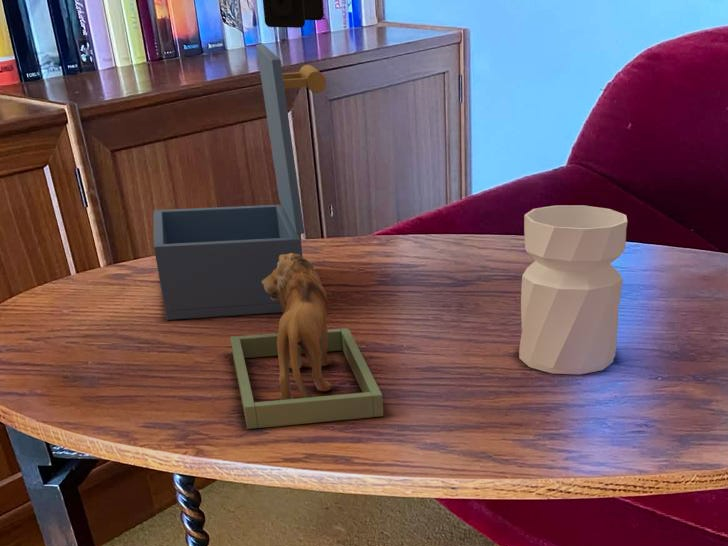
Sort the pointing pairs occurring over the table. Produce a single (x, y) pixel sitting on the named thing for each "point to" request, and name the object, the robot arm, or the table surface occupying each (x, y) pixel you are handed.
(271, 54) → the lid
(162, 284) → the chest
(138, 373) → the table surface
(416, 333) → the table surface
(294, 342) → the lion figurine
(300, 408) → the tray
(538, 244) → the vase
